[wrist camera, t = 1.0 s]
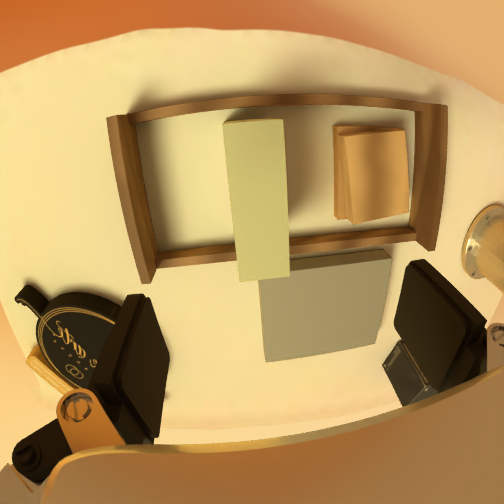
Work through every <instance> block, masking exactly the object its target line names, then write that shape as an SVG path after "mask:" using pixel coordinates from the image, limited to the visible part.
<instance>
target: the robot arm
mask: <svg viewBox="0 0 504 504" xmlns="http://www.w3.org/2000/svg"><path fill="white" fill-rule="evenodd" d="M462 264H463V268H464V270H465V272H466V273H467V274H468V275H469V276H470V277H471V278H474V279H481V278H484V277H486V278H487V279H488V280H489V281H490V282H491V283H492V284H494V285H495V286H496V287H497V288H498V289H499V290H500V291H501V292H502V293H503V294H504V208H503V207H501V206H498V205H492V206H489V207H487V208H486V209H484V210H483V211H482V212H481V213H480V214H479V215H478V216H477V217H476V219H475V220H474V221H473V223H472V225H471V226H470V228H469V231H468V233H467V235H466V238H465V241H464V245H463V250H462ZM486 322H487V320H486V319H485V318H484V317H483V316H482V314H481V313H480V312H479V311H478V310H477V309H476V308H475V307H474V306H473V305H472V304H471V303H470V302H469V301H468V300H467V299H466V298H465V297H464V296H463V295H462V294H461V293H460V292H459V291H458V290H457V289H456V288H455V287H454V286H453V285H452V284H451V283H450V282H449V281H448V280H447V279H446V278H445V277H444V276H443V275H441V274H440V273H439V272H438V271H437V270H436V269H435V268H434V267H433V266H432V265H431V264H430V263H428V262H427V261H426V260H425V259H420V260H414V261H411V262H410V263H409V265H408V266H407V267H406V269H405V274H404V279H403V284H402V288H401V293H400V297H399V302H398V306H397V310H396V314H395V318H394V327H395V329H396V331H397V332H398V334H399V336H400V337H401V339H402V340H403V342H404V343H405V345H406V346H407V348H408V349H409V351H410V352H411V354H412V356H413V357H414V359H415V360H416V362H417V364H418V365H419V367H420V368H421V370H422V372H423V373H424V375H425V377H426V378H427V380H428V382H429V383H430V385H431V387H432V388H433V389H436V390H437V392H438V393H439V394H436V395H434V396H431V397H429V398H426V399H424V400H421V401H419V402H416V403H413V404H410V405H407V406H405V407H402V408H399V409H396V410H393V411H390V412H386V413H383V414H380V415H377V416H373V417H370V418H366V419H363V420H359V421H355V422H351V423H348V424H344V425H340V426H335V427H331V428H326V429H322V430H317V431H312V432H307V433H301V434H295V435H289V436H282V437H276V438H269V439H261V440H251V441H241V442H228V443H212V444H186V445H160V444H157V445H156V444H154V438H158V437H159V433H160V425H161V417H162V409H163V402H164V395H165V388H166V381H167V374H168V368H169V361H170V357H169V352H168V349H167V346H166V344H165V341H164V338H163V335H162V332H161V329H160V327H159V324H158V321H157V318H156V315H155V312H154V309H153V306H152V302H151V300H150V298H149V297H145V295H144V294H131V295H127V296H126V299H125V301H124V303H123V305H122V308H121V310H120V312H119V314H118V317H117V319H116V321H115V324H114V326H113V329H112V331H111V333H109V334H108V336H107V338H106V341H105V343H104V345H103V348H102V350H101V353H100V356H99V358H98V361H97V363H96V366H95V369H94V371H93V374H92V377H91V379H90V382H89V385H88V388H87V389H83V388H80V389H74V390H71V391H69V392H68V393H66V394H65V395H64V396H63V397H62V398H61V399H60V400H59V402H58V405H57V409H56V413H57V419H55V420H53V421H52V422H50V423H49V424H47V425H45V426H44V427H42V428H40V429H39V430H37V431H35V432H34V433H32V434H31V435H29V436H28V437H26V438H24V439H22V440H21V441H20V442H19V443H17V445H16V446H15V448H14V450H13V453H12V462H13V464H12V465H10V464H8V463H7V465H6V466H5V467H4V468H3V469H2V470H1V472H0V504H504V324H502V323H494V324H491V325H490V326H489V327H488V329H487V330H486V329H485V327H484V326H485V324H486Z"/></svg>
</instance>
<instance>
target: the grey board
mask: <svg viewBox="0 0 504 504" xmlns="http://www.w3.org/2000/svg"><path fill="white" fill-rule="evenodd" d="M289 263H290V276H289V277H280V278H272V279H263V280H258V283H259V295H260V308H261V320H262V333H263V345H264V354H265V360H266V362H274V361H281V360H289V359H295V358H302V357H308V356H315V355H320V354H326V353H332V352H337V351H342V350H347V349H352V348H357V347H362V346H367V345H371V344H375V342H376V338H377V334H378V330H379V326H380V321H381V317H382V312H383V308H384V303H385V298H386V293H387V287H388V282H389V276H390V270H391V264H392V257H391V256H390V255H389V254H388V253H387V252H386V251H385V250H384V249H381V250H372V251H364V252H356V253H347V254H338V255H330V256H321V257H312V258H303V259H295V260H289Z"/></svg>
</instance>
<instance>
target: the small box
mask: <svg viewBox="0 0 504 504" xmlns="http://www.w3.org/2000/svg"><path fill="white" fill-rule="evenodd" d="M382 366H383V368H384V370H385V372H386V374H387V376H388V378H389V380H390V382H391V384H392V386H393V388H394V390H395V392H396V394H397V396H398V398H399V400H400V402H401V404H402V406H403V407H405V406H407V405H410V404H413V403H416V402H419V401H421V400H424V399H426V398H429V397H431V396H434V395H436V394H439V393H438V392H437V390H436V389H433V388H432V387H431V385H430V383H429V382H428V380H427V378H426V377H425V375H424V373H423V372H422V370H421V368H420V367H419V365H418V364H417V362H416V360H415V359H414V357H413V356H412V354H411V352H410V351H409V349H408V348H407V346H406V345H405V343H404V342H403V341H398V343H397V344H396V346H395V347H394V349H393V350H392V352H391V353H390V355H389V356H388V358H387V359H386V360H385V362H384V363H383V365H382Z"/></svg>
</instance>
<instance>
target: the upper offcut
mask: <svg viewBox="0 0 504 504" xmlns="http://www.w3.org/2000/svg"><path fill="white" fill-rule="evenodd" d="M337 139H338V146H339V154H340V161H341V170H342V178H343V187H344V197H345V208H346V218H347V219H348V220H349V221H350V222H351V223H353V224H357V223H362V222H366V221H371V220H375V219H380V218H385V217H389V216H394V215H399V214H403V213H408V212H409V184H408V162H407V148H406V137H405V131H404V130H398V129H390V130H378V131H368V132H358V133H350V134H341V135H337Z"/></svg>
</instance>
